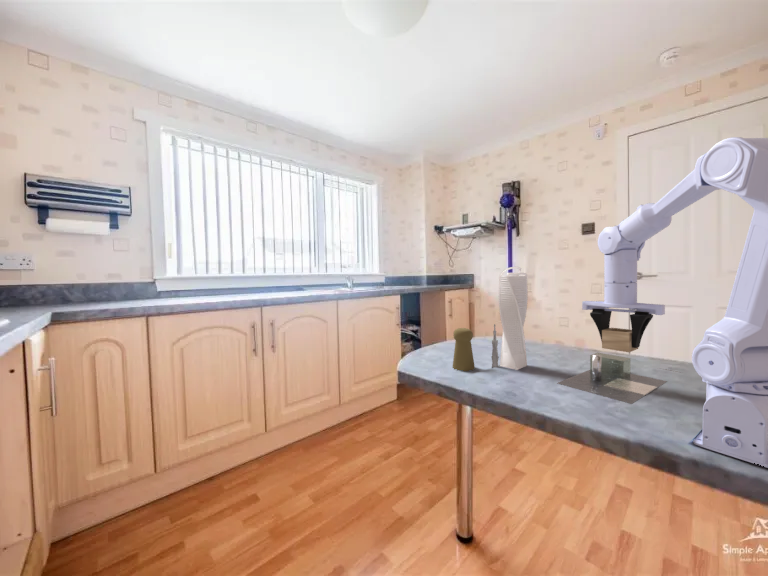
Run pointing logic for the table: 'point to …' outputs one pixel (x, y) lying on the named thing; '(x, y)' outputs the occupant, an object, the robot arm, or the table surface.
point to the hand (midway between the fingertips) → (620, 344)
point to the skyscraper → (511, 320)
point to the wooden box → (617, 339)
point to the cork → (463, 350)
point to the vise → (612, 379)
